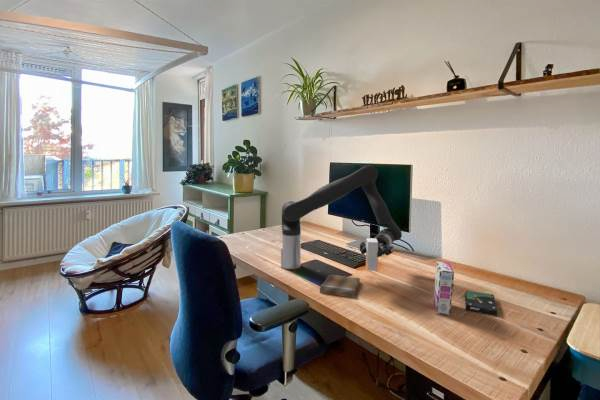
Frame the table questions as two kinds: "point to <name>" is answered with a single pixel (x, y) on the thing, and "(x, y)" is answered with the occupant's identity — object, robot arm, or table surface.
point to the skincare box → (371, 254)
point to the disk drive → (480, 303)
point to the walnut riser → (340, 285)
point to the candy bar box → (443, 288)
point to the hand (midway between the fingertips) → (370, 253)
